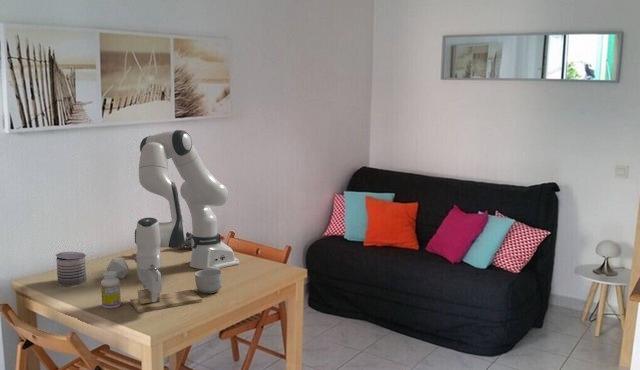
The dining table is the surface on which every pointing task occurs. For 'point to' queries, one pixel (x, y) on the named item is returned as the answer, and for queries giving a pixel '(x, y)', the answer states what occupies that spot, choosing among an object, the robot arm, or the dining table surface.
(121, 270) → the die
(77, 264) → the can
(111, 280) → the supplement bottle
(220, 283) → the teacup
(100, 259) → the dining table surface
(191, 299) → the board
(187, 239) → the mineral specimen
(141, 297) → the block
